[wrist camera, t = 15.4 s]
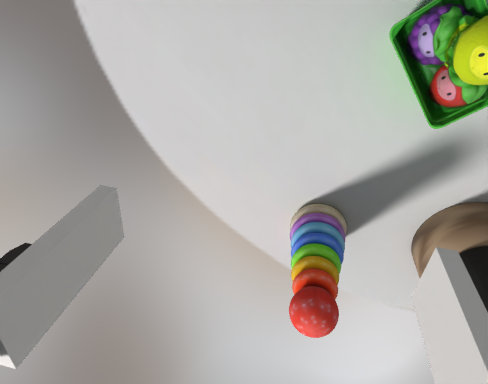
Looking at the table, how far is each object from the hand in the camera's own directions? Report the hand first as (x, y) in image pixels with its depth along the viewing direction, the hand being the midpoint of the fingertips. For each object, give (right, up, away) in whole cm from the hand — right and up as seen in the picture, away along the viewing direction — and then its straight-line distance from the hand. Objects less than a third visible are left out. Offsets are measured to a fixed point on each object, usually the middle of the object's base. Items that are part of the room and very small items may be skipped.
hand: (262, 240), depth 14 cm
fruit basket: (+20, +17, +21) cm, 34 cm away
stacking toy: (+10, -3, +35) cm, 36 cm away
